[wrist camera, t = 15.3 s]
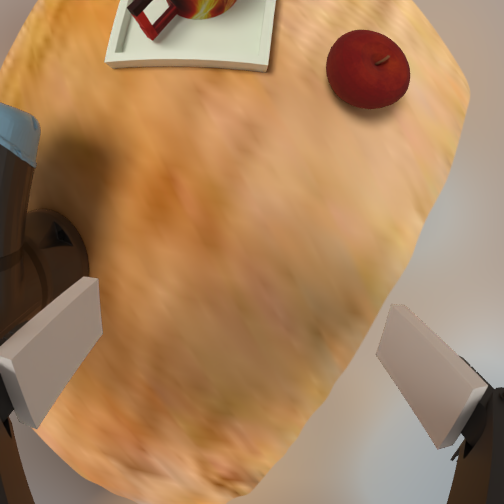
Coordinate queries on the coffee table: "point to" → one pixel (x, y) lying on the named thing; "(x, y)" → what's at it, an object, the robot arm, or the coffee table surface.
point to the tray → (195, 38)
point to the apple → (367, 69)
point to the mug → (177, 12)
